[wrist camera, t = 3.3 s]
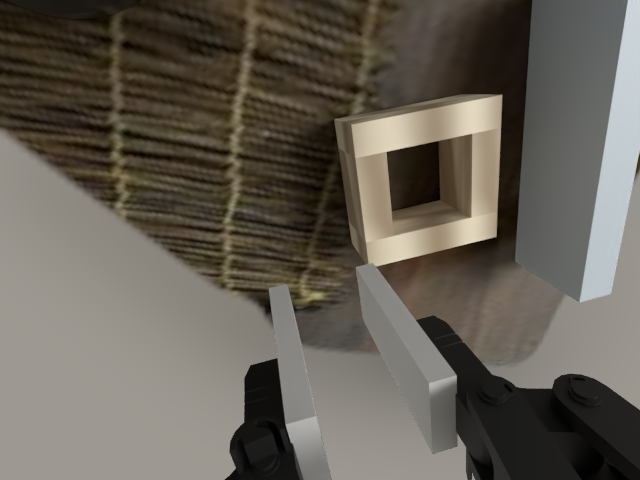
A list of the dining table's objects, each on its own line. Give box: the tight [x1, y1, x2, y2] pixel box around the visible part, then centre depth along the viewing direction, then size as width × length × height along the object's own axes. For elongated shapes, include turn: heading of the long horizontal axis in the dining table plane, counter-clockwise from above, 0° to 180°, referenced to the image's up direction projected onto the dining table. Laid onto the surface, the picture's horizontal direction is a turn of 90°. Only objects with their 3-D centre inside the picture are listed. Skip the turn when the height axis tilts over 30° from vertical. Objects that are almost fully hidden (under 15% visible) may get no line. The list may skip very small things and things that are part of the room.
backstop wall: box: [515, 0, 640, 302], centre depth 29 cm, size 3×24×8 cm, turn 10°
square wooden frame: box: [334, 94, 502, 266], centre depth 29 cm, size 11×11×5 cm
